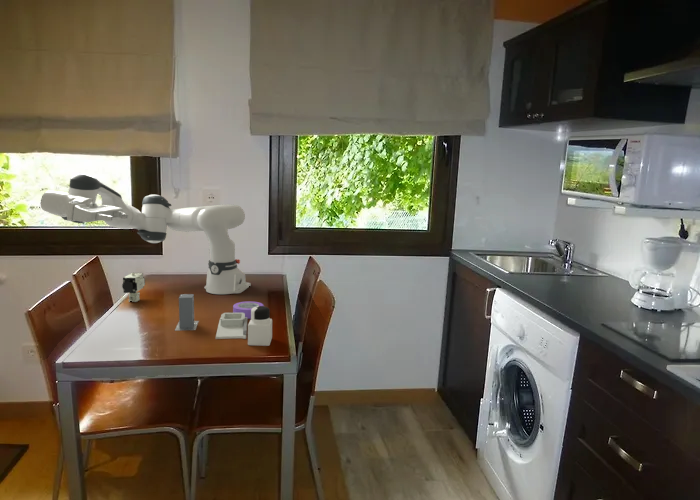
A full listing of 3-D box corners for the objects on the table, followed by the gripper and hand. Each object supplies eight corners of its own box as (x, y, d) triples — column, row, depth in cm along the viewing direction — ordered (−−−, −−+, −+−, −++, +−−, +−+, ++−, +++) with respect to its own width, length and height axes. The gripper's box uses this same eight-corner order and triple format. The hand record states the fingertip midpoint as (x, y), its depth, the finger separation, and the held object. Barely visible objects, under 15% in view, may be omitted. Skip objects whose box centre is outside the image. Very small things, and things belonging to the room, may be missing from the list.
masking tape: (231, 311, 199) (231, 301, 198) (260, 309, 203) (260, 300, 202) (235, 320, 188) (235, 310, 187) (266, 318, 192) (266, 308, 191)
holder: (220, 320, 186) (220, 311, 186) (247, 319, 188) (247, 310, 188) (215, 339, 167) (215, 329, 166) (246, 338, 169) (246, 328, 168)
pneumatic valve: (122, 304, 200) (121, 276, 198) (134, 296, 212) (133, 269, 209) (136, 305, 200) (135, 276, 198) (147, 297, 212) (146, 269, 209)
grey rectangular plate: (178, 321, 183) (179, 321, 183) (198, 321, 184) (198, 320, 184) (174, 331, 173) (174, 330, 173) (195, 330, 174) (195, 330, 174)
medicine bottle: (272, 338, 170) (272, 304, 168) (269, 346, 163) (269, 311, 161) (251, 337, 170) (251, 304, 168) (247, 345, 163) (247, 310, 161)
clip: (181, 323, 180) (180, 294, 178) (194, 323, 181) (193, 294, 179) (179, 327, 176) (178, 297, 174) (192, 327, 177) (192, 297, 175)
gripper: (101, 215, 191) (134, 223, 189) (63, 220, 171) (100, 229, 169) (103, 199, 189) (136, 207, 188) (65, 202, 169) (102, 211, 168)
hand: (119, 217), depth 178 cm, fingers open, 8 cm apart
